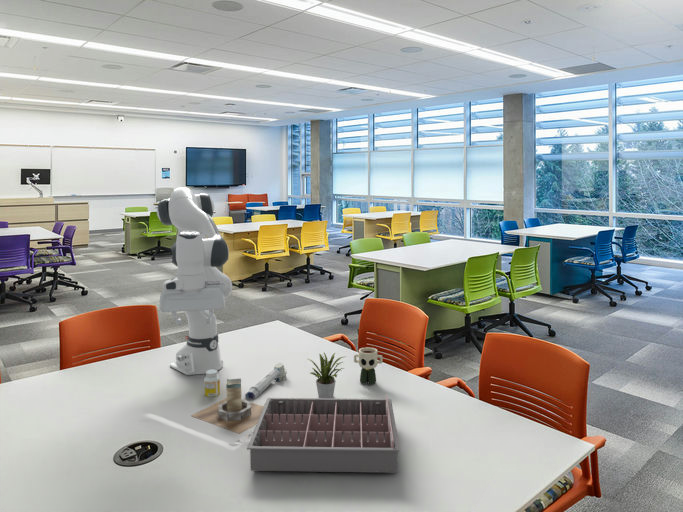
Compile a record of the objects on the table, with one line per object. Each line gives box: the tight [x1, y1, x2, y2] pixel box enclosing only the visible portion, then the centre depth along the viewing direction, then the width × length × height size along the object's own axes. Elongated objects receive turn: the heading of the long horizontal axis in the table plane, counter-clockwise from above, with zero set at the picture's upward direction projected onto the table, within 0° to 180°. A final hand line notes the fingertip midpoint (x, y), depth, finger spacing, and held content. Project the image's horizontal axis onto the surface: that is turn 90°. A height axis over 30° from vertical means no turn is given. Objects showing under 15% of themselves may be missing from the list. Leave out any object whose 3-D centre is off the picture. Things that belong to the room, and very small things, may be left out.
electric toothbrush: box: [244, 362, 288, 400], centre depth 189 cm, size 5×7×25 cm
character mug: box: [353, 346, 383, 386], centre depth 193 cm, size 11×7×13 cm, turn 84°
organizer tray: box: [246, 394, 401, 473], centre depth 147 cm, size 32×40×10 cm
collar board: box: [190, 398, 265, 435], centre depth 166 cm, size 22×18×4 cm
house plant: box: [308, 352, 348, 398], centre depth 180 cm, size 14×14×16 cm
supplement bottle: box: [203, 369, 221, 398], centre depth 181 cm, size 5×5×10 cm
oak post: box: [225, 378, 243, 412], centre depth 166 cm, size 4×4×11 cm
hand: (193, 323), depth 164 cm, fingers open, 8 cm apart
